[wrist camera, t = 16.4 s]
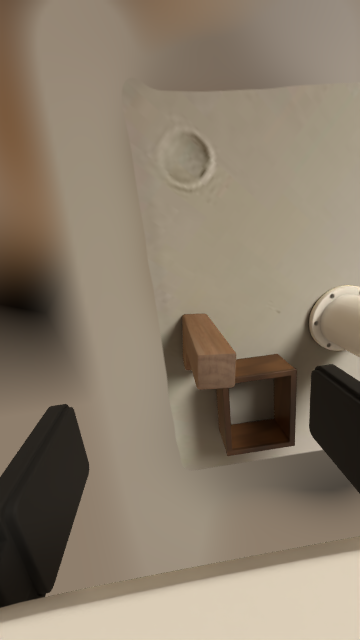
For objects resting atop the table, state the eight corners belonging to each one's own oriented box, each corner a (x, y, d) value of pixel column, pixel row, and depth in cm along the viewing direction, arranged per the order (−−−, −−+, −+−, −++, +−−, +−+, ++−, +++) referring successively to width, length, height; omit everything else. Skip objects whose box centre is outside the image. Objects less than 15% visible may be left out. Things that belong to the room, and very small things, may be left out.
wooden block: (206, 358, 47) (233, 422, 29) (182, 360, 46) (196, 424, 29) (206, 313, 44) (237, 352, 27) (182, 313, 44) (197, 354, 27)
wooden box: (278, 353, 48) (297, 369, 41) (277, 421, 52) (294, 445, 46) (213, 362, 47) (222, 379, 41) (218, 430, 51) (227, 456, 45)
